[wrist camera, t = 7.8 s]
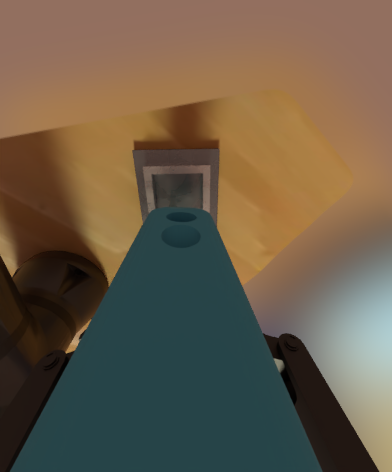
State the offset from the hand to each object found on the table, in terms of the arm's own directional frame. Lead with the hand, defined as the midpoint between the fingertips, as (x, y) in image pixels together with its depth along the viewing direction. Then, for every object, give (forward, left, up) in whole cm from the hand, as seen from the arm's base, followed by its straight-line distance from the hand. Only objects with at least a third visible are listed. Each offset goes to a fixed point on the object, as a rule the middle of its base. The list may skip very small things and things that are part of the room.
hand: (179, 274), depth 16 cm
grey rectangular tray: (0, 0, -16) cm, 16 cm away
